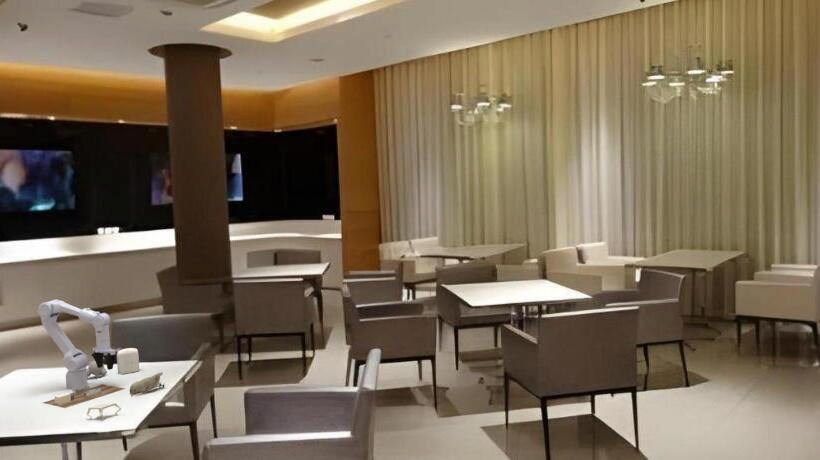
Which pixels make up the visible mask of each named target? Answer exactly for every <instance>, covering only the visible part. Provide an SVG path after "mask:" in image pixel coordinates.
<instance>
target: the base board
mask: <svg viewBox="0 0 820 460" xmlns="http://www.w3.org/2000/svg"><path fill="white" fill-rule="evenodd" d="M95 388H100V389H101V394H100V395H97V396H93V397H90V398H87V399H86V398H83V394H82V395H79V396H74V399H71V401H70V402H67V403H64V404H61V405H59V404H55V400H54V399H55V398H52V399H50V400H46V401H43V402H42V404H46V405H50V406H54V407H59V408H63V409H67V408H69V407H70V408H71V407H73V406H76V405H79V404H83V403H86V402H89V401H91V400H96V399H97V398H101V397H104V396H108V395H111V394H114V393H117V392H120V391H122V390H125V389H126V388H123V387H119V386H114V385H107V384H100V385H99V384H98V385H96V386H93V387H90V389H91V390H92V389H95Z"/></svg>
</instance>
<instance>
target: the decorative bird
mask: <svg viewBox="0 0 820 460" xmlns="http://www.w3.org/2000/svg"><path fill="white" fill-rule="evenodd" d="M163 374H164V373H163V371H160V372H158V373H155V374H153V375H151V376H148V377H145V378H143V379H141V380H138V381H135V382H133V383H132V384H131V385H130V387H129V395H130V397H134V395H135V394H137V393H140V394H145V393H147V392H150V391H152V390H153V389H155V388H157V387H158V385H159V387H161V388H165V382H163V384H162V381H161V376H163Z"/></svg>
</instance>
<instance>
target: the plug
mask: <svg viewBox="0 0 820 460" xmlns="http://www.w3.org/2000/svg"><path fill="white" fill-rule="evenodd" d="M53 399H54V400H55V404H59V405H61V404H64V403H67V402H70V401H71V399H74V394H73V392H71V393H66V392H65V393H64V392H63V393H61V394H58V395H54V398H53Z"/></svg>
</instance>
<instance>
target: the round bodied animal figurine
mask: <svg viewBox="0 0 820 460" xmlns="http://www.w3.org/2000/svg"><path fill="white" fill-rule="evenodd" d="M88 364H89V365H88V366H87V368H86V369H87V378H88V377H90V376H91V375H93V376H95V379H99V378H101V377H102V376H105V375H106V374H108V371H107V368H105V364H104V363H103V367H101V368H98V367H97V364H96V362H95V360H94V359H93V360H92V361H91V362H90V363H88Z"/></svg>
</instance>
